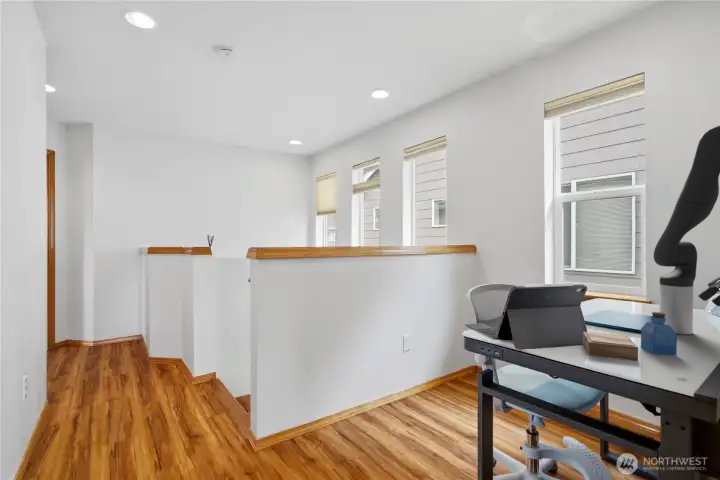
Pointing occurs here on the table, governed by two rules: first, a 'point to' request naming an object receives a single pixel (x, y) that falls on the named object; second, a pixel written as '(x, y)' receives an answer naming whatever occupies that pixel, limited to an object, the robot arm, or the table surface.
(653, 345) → the perfume bottle
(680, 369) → the table surface
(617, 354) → the block
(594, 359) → the table surface
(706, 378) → the table surface
